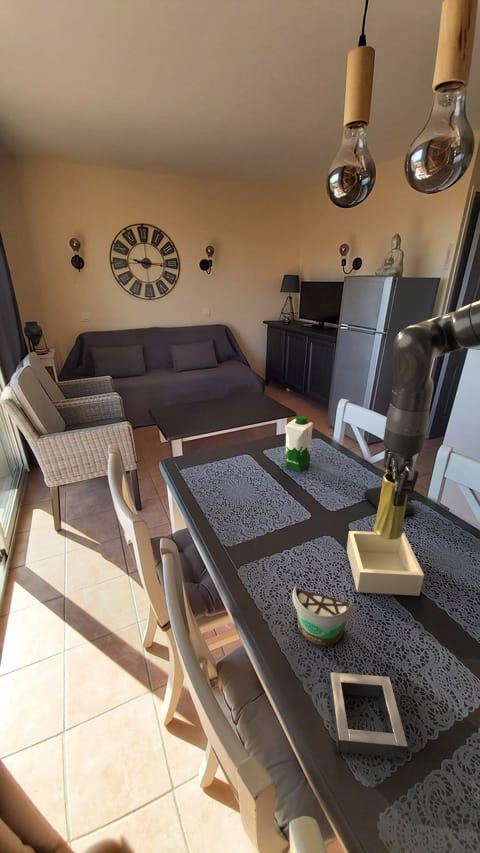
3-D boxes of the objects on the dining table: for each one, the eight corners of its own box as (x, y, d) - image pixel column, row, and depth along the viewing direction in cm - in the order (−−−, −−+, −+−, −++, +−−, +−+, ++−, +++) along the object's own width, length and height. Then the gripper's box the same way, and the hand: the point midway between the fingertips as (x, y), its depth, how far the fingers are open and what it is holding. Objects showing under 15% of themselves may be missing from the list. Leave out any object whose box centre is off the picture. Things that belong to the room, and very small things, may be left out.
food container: (284, 641, 74) (285, 607, 70) (292, 617, 80) (293, 583, 76) (346, 662, 70) (351, 627, 66) (349, 635, 75) (354, 601, 71)
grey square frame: (386, 690, 65) (389, 676, 64) (403, 760, 56) (408, 746, 55) (328, 685, 66) (330, 672, 65) (337, 754, 57) (339, 740, 56)
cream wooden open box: (400, 553, 96) (404, 532, 93) (419, 598, 83) (424, 575, 80) (346, 551, 97) (348, 530, 94) (356, 594, 85) (360, 572, 82)
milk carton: (312, 465, 139) (315, 417, 131) (302, 475, 133) (304, 426, 124) (292, 459, 144) (293, 412, 136) (281, 469, 137) (282, 421, 129)
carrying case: (358, 496, 120) (386, 523, 107) (359, 488, 119) (387, 515, 106) (386, 490, 122) (416, 516, 109) (387, 482, 121) (418, 508, 108)
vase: (377, 519, 86) (385, 467, 80) (404, 528, 83) (415, 475, 77) (369, 533, 82) (377, 480, 76) (398, 544, 79) (408, 489, 73)
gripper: (440, 442, 65) (423, 518, 72) (413, 412, 78) (401, 479, 85) (397, 442, 66) (384, 517, 72) (377, 412, 79) (368, 478, 85)
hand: (393, 496), depth 79 cm, fingers closed on vase, 5 cm apart
